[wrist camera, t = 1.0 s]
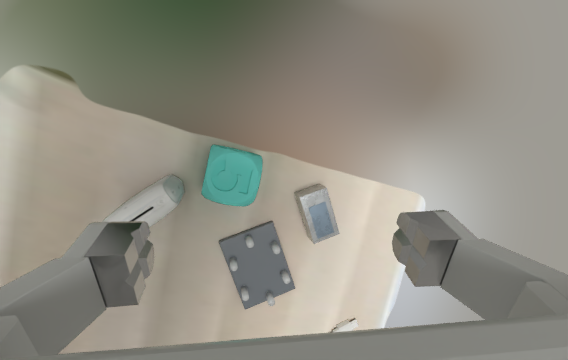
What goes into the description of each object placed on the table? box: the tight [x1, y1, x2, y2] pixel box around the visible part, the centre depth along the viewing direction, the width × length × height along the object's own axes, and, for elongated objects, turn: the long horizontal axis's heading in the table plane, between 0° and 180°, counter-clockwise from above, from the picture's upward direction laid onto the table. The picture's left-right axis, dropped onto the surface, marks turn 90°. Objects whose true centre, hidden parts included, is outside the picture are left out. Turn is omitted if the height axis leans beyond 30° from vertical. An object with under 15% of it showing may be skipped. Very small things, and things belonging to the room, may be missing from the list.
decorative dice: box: [201, 145, 262, 206], centre depth 47 cm, size 8×8×8 cm
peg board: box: [219, 221, 295, 309], centre depth 53 cm, size 14×10×4 cm
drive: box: [295, 184, 339, 244], centre depth 53 cm, size 9×5×4 cm, turn 17°
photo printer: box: [102, 174, 185, 227], centre depth 43 cm, size 10×4×12 cm, turn 121°
